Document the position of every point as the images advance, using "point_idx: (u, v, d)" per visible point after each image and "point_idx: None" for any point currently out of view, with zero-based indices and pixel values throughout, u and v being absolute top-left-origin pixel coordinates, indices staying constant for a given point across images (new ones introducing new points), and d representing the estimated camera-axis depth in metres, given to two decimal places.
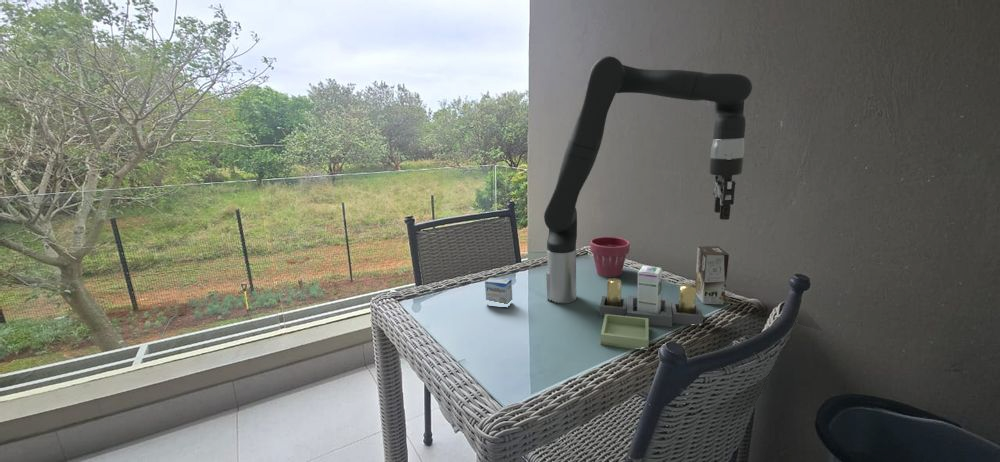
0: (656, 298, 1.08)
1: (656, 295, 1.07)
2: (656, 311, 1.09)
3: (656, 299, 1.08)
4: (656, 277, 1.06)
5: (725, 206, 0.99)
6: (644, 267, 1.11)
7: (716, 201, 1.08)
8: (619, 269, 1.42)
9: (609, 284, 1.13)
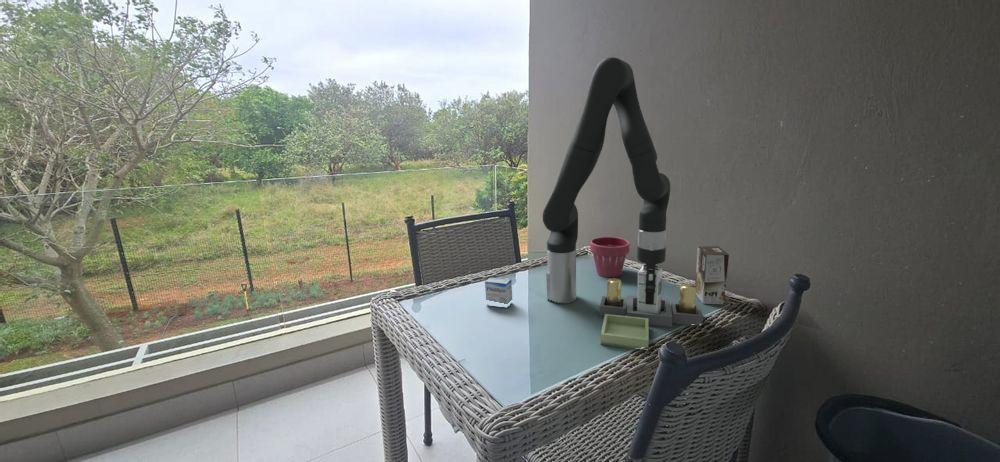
0: (656, 298, 1.08)
1: (656, 295, 1.07)
2: (656, 311, 1.09)
3: (656, 299, 1.08)
4: (656, 277, 1.06)
5: (649, 293, 1.07)
6: None
7: None
8: (619, 269, 1.42)
9: (609, 284, 1.13)
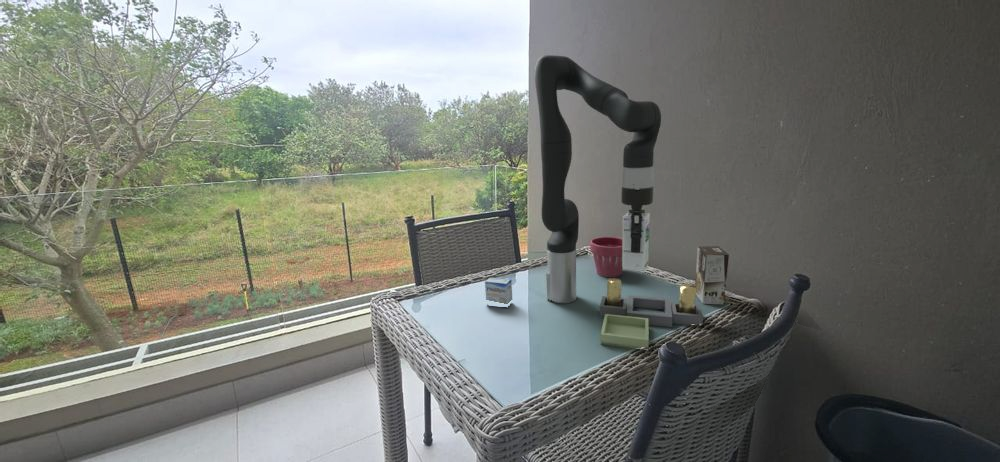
0: (643, 245, 0.96)
1: (643, 242, 0.96)
2: (643, 260, 0.97)
3: (643, 246, 0.96)
4: (643, 221, 0.94)
5: (635, 239, 0.95)
6: None
7: None
8: (619, 269, 1.42)
9: (609, 284, 1.13)
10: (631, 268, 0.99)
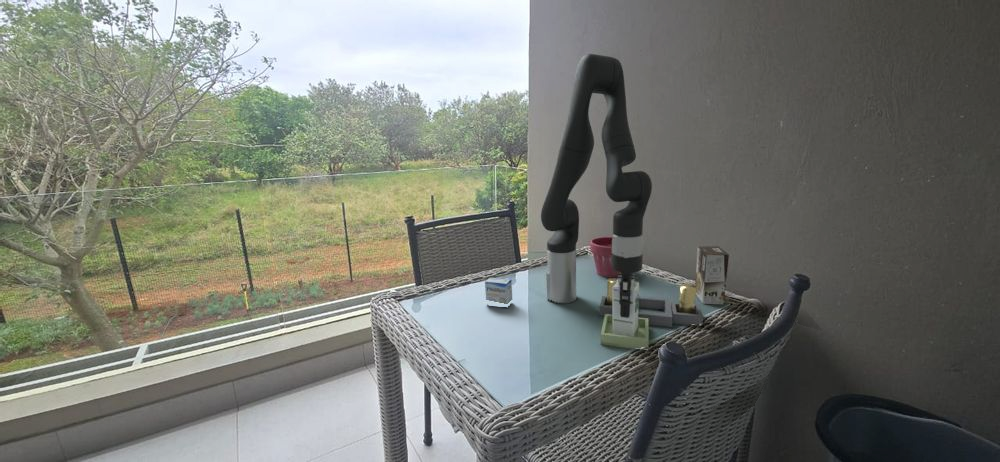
0: (633, 316, 0.97)
1: (633, 312, 0.97)
2: (633, 330, 0.98)
3: (633, 317, 0.97)
4: None
5: (624, 305, 0.95)
6: None
7: None
8: None
9: (609, 284, 1.13)
10: None
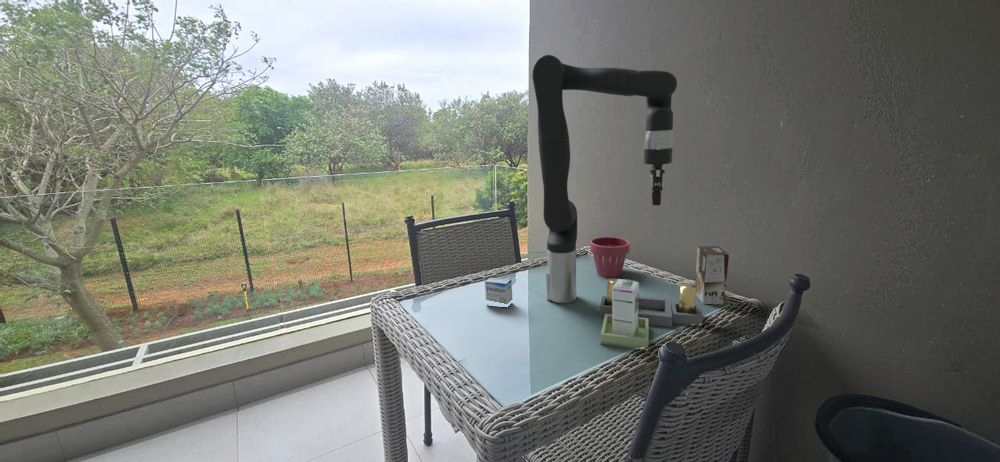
0: (633, 316, 0.97)
1: (633, 312, 0.97)
2: (633, 330, 0.98)
3: (633, 317, 0.97)
4: (632, 293, 0.95)
5: (656, 193, 1.08)
6: (619, 281, 1.00)
7: None
8: (619, 269, 1.42)
9: (609, 284, 1.13)
10: None
